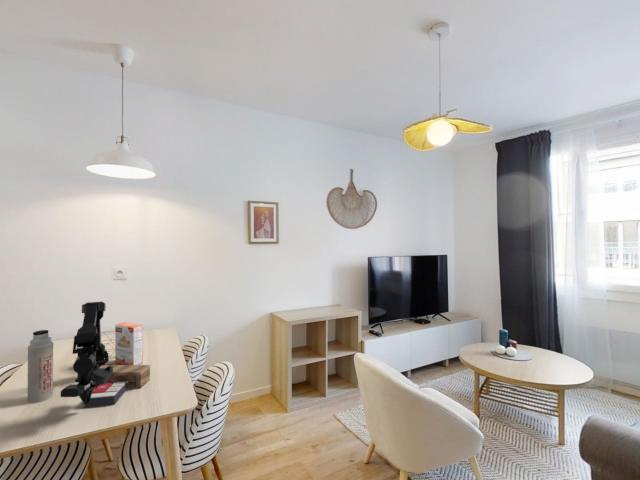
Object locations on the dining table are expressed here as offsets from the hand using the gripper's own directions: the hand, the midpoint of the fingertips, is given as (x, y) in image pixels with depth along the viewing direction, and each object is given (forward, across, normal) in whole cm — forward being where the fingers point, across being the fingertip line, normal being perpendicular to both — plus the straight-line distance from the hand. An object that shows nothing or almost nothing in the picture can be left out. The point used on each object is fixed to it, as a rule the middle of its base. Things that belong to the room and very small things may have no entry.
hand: (86, 403), depth 122 cm
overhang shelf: (+3, +22, 0) cm, 23 cm away
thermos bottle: (+3, +10, +26) cm, 28 cm away
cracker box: (+3, +46, +10) cm, 48 cm away
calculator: (+4, +11, -1) cm, 12 cm away
